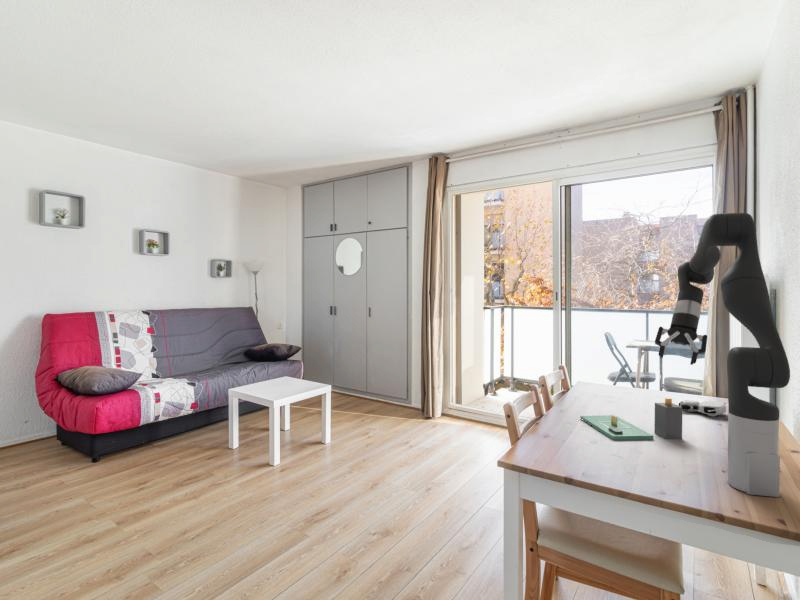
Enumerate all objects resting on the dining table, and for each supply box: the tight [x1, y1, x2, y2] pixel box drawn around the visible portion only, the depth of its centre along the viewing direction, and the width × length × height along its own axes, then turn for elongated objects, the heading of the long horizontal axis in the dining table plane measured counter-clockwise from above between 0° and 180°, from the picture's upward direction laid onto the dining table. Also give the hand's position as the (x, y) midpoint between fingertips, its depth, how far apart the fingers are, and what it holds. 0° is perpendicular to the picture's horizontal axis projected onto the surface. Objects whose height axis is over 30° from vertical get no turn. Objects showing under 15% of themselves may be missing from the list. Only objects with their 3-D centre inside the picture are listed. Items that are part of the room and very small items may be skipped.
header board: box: [579, 414, 654, 441], centre depth 144 cm, size 22×13×4 cm, turn 2°
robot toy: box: [678, 399, 727, 418], centre depth 163 cm, size 12×4×15 cm
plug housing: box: [654, 397, 683, 440], centre depth 136 cm, size 5×5×12 cm
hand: (676, 360), depth 140 cm, fingers open, 8 cm apart
